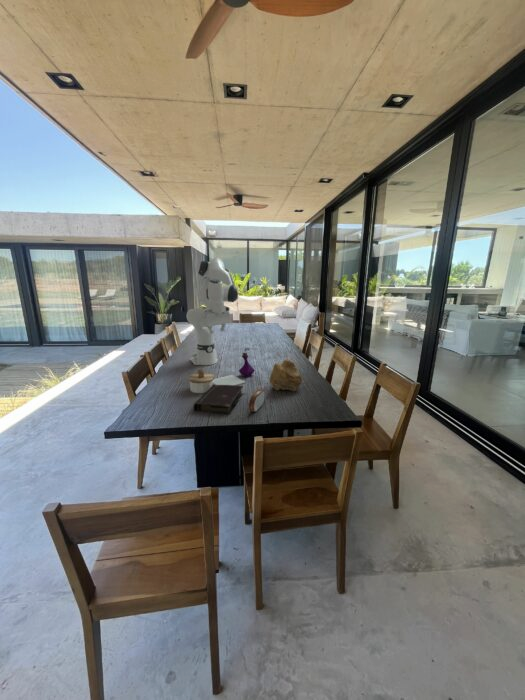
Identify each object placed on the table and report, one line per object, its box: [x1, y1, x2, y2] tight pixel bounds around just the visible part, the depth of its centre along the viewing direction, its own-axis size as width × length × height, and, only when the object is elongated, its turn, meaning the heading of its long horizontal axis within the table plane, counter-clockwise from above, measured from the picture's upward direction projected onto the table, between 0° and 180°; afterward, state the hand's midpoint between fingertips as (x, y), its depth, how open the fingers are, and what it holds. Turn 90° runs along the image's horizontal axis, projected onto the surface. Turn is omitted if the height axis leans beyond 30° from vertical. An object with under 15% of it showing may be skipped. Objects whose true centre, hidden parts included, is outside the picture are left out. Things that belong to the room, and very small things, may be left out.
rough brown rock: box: [269, 358, 303, 392], centre depth 165 cm, size 23×17×15 cm
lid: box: [187, 368, 215, 383], centre depth 163 cm, size 14×14×5 cm
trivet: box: [213, 374, 247, 386], centre depth 175 cm, size 16×16×1 cm
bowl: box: [189, 380, 214, 394], centre depth 164 cm, size 12×12×6 cm
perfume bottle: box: [238, 347, 255, 378], centre depth 185 cm, size 8×8×18 cm
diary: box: [193, 384, 244, 415], centre depth 148 cm, size 19×25×5 cm
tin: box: [248, 388, 266, 412], centre depth 141 cm, size 15×3×8 cm, turn 158°
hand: (217, 332), depth 172 cm, fingers open, 8 cm apart
